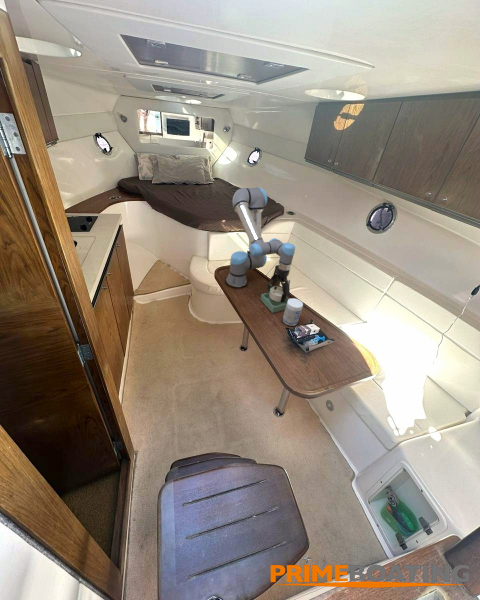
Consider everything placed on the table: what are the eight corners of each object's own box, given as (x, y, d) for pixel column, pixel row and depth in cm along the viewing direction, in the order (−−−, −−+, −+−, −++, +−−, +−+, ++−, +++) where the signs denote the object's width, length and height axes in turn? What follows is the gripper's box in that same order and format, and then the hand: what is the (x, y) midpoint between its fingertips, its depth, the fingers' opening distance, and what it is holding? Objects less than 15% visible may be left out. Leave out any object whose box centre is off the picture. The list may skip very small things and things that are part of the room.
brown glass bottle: (277, 299, 173) (284, 269, 159) (266, 298, 173) (272, 268, 159) (276, 293, 180) (283, 263, 165) (265, 292, 179) (271, 262, 165)
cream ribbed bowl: (265, 294, 168) (266, 288, 165) (279, 291, 173) (280, 285, 170) (274, 303, 160) (276, 297, 157) (288, 300, 165) (290, 294, 162)
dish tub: (260, 299, 172) (261, 294, 169) (278, 295, 178) (279, 290, 175) (272, 312, 161) (273, 307, 159) (291, 307, 168) (292, 302, 165)
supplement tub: (294, 328, 151) (300, 310, 143) (280, 322, 155) (285, 304, 146) (299, 320, 158) (305, 301, 150) (285, 314, 162) (290, 296, 153)
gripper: (268, 260, 160) (263, 288, 173) (290, 279, 144) (282, 308, 157) (278, 258, 163) (272, 286, 176) (300, 276, 147) (292, 306, 160)
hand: (277, 296), depth 166 cm, fingers closed on cream ribbed bowl, 11 cm apart
